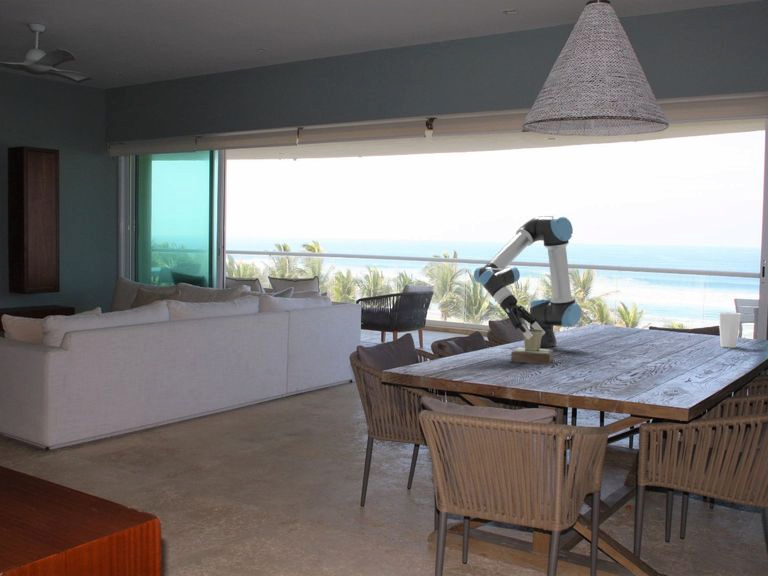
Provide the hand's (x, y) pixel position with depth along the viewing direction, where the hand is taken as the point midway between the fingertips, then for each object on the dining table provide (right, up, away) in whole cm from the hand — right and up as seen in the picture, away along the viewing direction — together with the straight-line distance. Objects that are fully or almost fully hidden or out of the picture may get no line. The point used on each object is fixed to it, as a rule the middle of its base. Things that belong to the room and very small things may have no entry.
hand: (537, 336), depth 341 cm
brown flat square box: (-2, -11, +2) cm, 11 cm away
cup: (+108, -9, +59) cm, 123 cm away
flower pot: (-2, -6, +1) cm, 7 cm away
